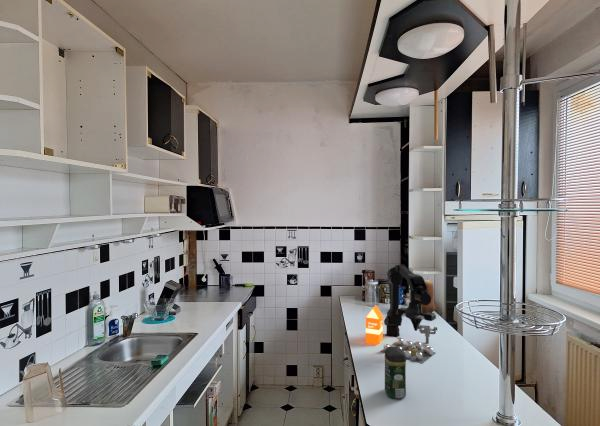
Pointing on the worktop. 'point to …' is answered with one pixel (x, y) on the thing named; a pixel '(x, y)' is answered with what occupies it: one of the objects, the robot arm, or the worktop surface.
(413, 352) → the nut
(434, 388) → the worktop surface
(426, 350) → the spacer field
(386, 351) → the coffee jar
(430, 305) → the butternut squash
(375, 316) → the orange juice
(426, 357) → the mat
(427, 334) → the mechanical component
